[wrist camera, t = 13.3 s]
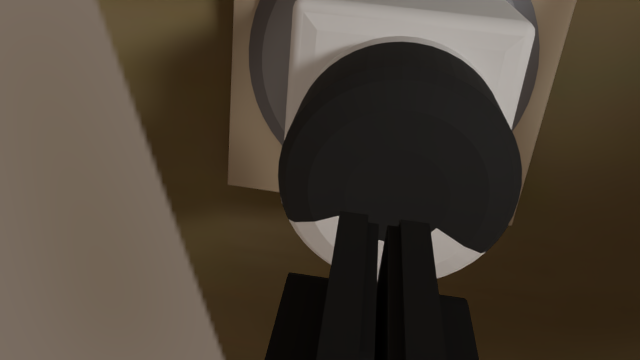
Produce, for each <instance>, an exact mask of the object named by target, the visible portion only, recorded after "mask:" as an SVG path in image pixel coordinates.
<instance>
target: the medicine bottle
mask: <svg viewBox="0 0 640 360" xmlns="http://www.w3.org/2000/svg"><path fill="white" fill-rule="evenodd" d="M534 37H535V28H534V26H533V25H532V23H531V22H529V21H528V20H527V19H526V18H525V17H524V16H523V15H522V14H521V13H519V12H518V11H517V10H516V9H515V8H514V7H513V6H512V5H511V4H510V3H508V2H507V1H506V0H296V1H295V3H294V6H293V14H292V29H291V44H290V59H289V75H288V90H287V105H286V120H285V135H284V143H283V145H282V149H281V154H280V158H279V166H278V183H279V192H280V197H281V202H282V205H283V207H284V210H285V212H286V215H287V217H288V219H289V221H290V223H291V225H292V226H293V228H294V230H295V231H296V233H297V234H298V235H299V237H300V238H301V239H302V240H303V242H304V243H305V244H306V245H307V246H308V247H309V248H310V249H311V250H312V251H313V252H314V253H315V254H316V255H318V256H319V257H320V258H322V259H323V260H324V261H326V262H327V263H329V264H330V265H331V263H332V257H333V251H334V244H335V238H336V232H337V226H338V219H339V213H340V211H346V212H353V213H360V214H367V215H368V222H370V223H377V224H379V236H378V266H377V280H378V274H379V269H380V263H381V257H382V252H383V246H384V240H385V235H386V230H387V226H388V225H391V226H398V224H399V220H400V219H403V220H410V221H417V222H424V223H429V224H430V229H431V237H432V245H433V253H434V261H435V268H436V276H437V278H440V277H444V276H447V275H449V274H451V273H454V272H456V271H458V270H461V269H462V268H464V267H466V266H467V265H469V264H471V263H472V262H474V261H475V260H477V259H478V258H479V257H480V256H482V255H483V254H484V253H486V252H487V251H488V250H489V249H490V248H491V247H492V246H493V245H494V243H495V242H496V241H497V240H498V239H499V238H500V236H501V235H502V234H503V232H504V231H505V229H506V228H507V226H508V224H509V222H510V221H511V219H512V217H513V215H514V212H515V209H516V207H517V204H518V201H519V196H520V191H521V186H522V165H521V157H520V152H519V149H518V145H517V142H516V139H515V136H514V134H513V132H512V130H511V129H512V125H513V121H514V117H515V113H516V109H517V105H518V101H519V97H520V93H521V89H522V85H523V81H524V77H525V73H526V69H527V65H528V61H529V57H530V53H531V49H532V45H533V41H534Z"/></svg>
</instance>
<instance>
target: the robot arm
mask: <svg viewBox="0 0 640 360" xmlns="http://www.w3.org/2000/svg"><path fill="white" fill-rule="evenodd" d="M378 236H379V224H377V223H370V222H368V215H367V214H360V213H353V212H346V211H340V213H339V219H338V226H337V232H336V238H335V244H334V251H333V257H332V263H331V269H330V276H329V278H323V277H317V276H310V275H303V274H296V273H290V272H289V274H288V277H287V280H286V283H285V287H284V291H283V294H282V298H281V302H280V305H279V309H278V313H277V316H276V320H275V324H274V327H273V331H272V335H271V338H270V342H269V346H268V350H267V353H266V357H265V360H479V358H478V353H477V348H476V343H475V337H474V332H473V327H472V322H471V317H470V312H469V307H468V303H467V300H466V299H464V298H458V297H452V296H445V295H439V292H438V284H437V276H436V268H435V261H434V253H433V245H432V237H431V229H430V224H429V223H424V222H417V221H410V220H403V219H400V220H399V224H398V226H391V225H388V226H387V230H386V235H385V240H384V246H383V252H382V257H381V263H380V269H379V274H378V280H377V266H378Z"/></svg>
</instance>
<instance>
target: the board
mask: <svg viewBox="0 0 640 360" xmlns="http://www.w3.org/2000/svg"><path fill="white" fill-rule="evenodd" d="M295 1H296V0H234V16H233V45H232V74H231V103H230V131H229V160H228V185H233V186H240V187H247V188H254V189H261V190H268V191H275V192H279V183H278V166H279V158H280V154H281V149H282V145H283V143H284V135H285V120H286V105H287V90H288V75H289V59H290V44H291V29H292V14H293V6H294V3H295ZM506 1H507V2H508V3H510V4H511V5H512V6H513V7H514V8H515V9H516V10H517V11H518V12H519V13H521V14H522V15H523V16H524V17H525V18H526V19H527V20H528V21H529V22H531V23H532V25H533V26H534V28H535V37H534V41H533V45H532V49H531V53H530V57H529V61H528V65H527V69H526V73H525V77H524V81H523V85H522V89H521V93H520V97H519V101H518V105H517V109H516V113H515V117H514V121H513V125H512V129H511V130H512V132H513V134H514V136H515V139H516V142H517V145H518V149H519V152H520V157H521V165H522V186H521V191H520V195H521V192H522V188H523V185H524V181H525V178H526V174H527V171H528V168H529V164H530V161H531V157H532V154H533V150H534V147H535V143H536V140H537V136H538V133H539V129H540V126H541V122H542V119H543V115H544V112H545V108H546V105H547V101H548V98H549V95H550V91H551V88H552V84H553V81H554V77H555V74H556V70H557V67H558V63H559V60H560V56H561V53H562V49H563V46H564V42H565V39H566V35H567V32H568V29H569V25H570V22H571V18H572V15H573V11H574V8H575V4H576V1H577V0H506ZM519 199H520V196H519ZM518 202H519V201H518ZM517 206H518V204H517ZM516 209H517V207H516ZM516 209H515V212H514V215H513V217H512V219H511V221H510V222H509V224H508V225H510V226H512V223H513V220H514V216H515V213H516Z"/></svg>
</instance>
